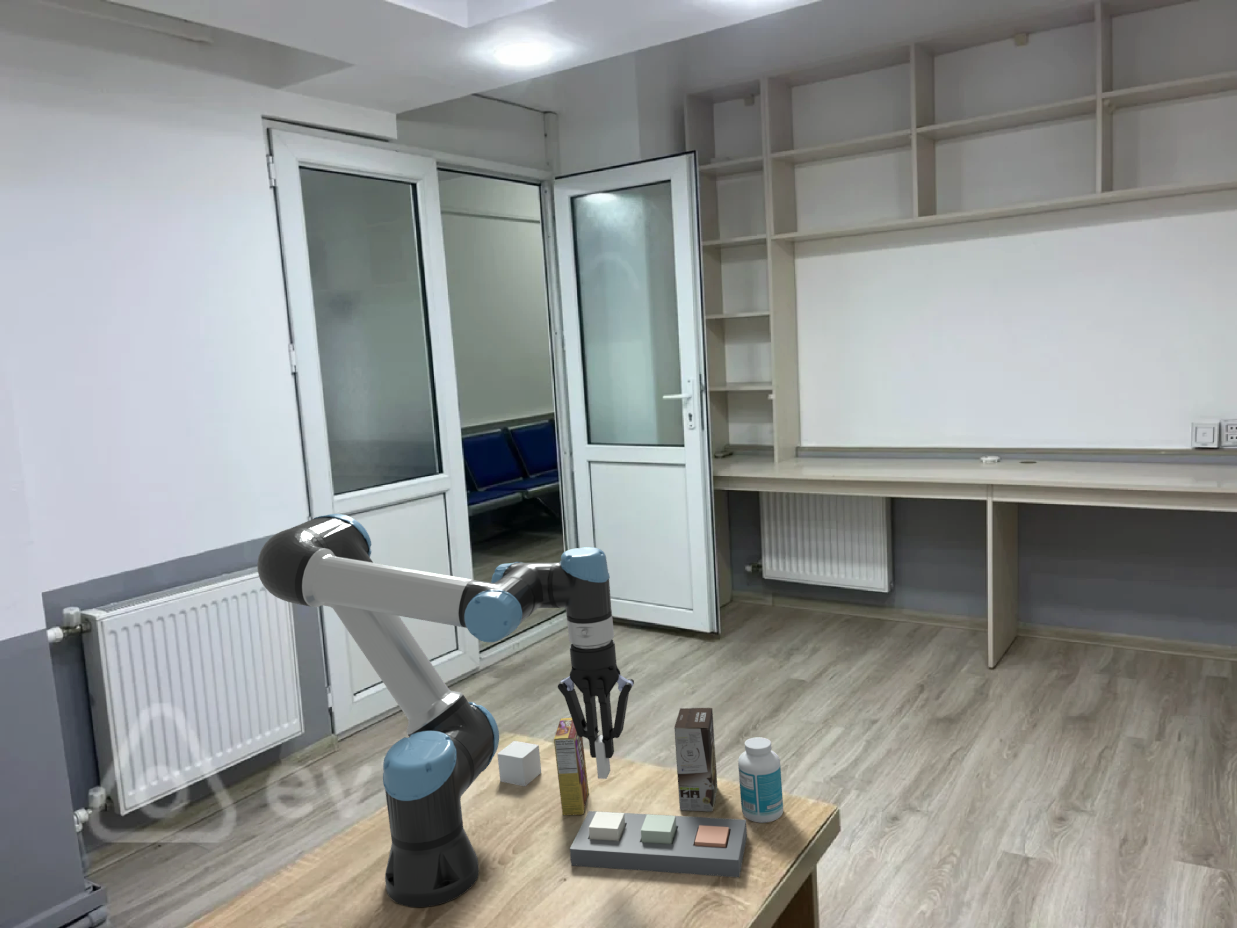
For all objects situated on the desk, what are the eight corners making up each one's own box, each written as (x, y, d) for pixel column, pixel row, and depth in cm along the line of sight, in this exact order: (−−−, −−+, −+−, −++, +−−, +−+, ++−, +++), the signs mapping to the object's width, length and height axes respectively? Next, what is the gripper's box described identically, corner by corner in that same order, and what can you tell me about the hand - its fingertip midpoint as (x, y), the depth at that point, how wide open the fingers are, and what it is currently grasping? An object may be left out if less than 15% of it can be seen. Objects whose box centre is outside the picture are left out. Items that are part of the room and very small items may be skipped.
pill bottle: (785, 804, 167) (781, 734, 165) (781, 826, 160) (777, 753, 158) (744, 801, 169) (740, 732, 167) (738, 822, 162) (734, 751, 160)
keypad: (571, 865, 153) (569, 848, 153) (590, 826, 165) (588, 810, 164) (739, 877, 146) (738, 859, 146) (746, 835, 158) (745, 819, 157)
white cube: (525, 786, 181) (522, 758, 180) (500, 781, 184) (497, 753, 183) (541, 772, 186) (538, 744, 185) (516, 767, 189) (514, 740, 188)
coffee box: (714, 812, 166) (708, 728, 164) (678, 810, 168) (672, 727, 165) (718, 786, 175) (713, 706, 173) (685, 785, 176) (679, 706, 174)
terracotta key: (696, 860, 151) (694, 841, 151) (700, 843, 156) (699, 825, 156) (726, 862, 150) (725, 843, 150) (729, 845, 155) (728, 826, 155)
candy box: (566, 791, 178) (560, 717, 175) (589, 791, 177) (582, 716, 175) (560, 816, 169) (553, 738, 167) (583, 815, 168) (576, 737, 166)
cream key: (590, 845, 156) (588, 827, 155) (597, 828, 160) (596, 811, 160) (618, 846, 154) (617, 828, 154) (625, 830, 159) (624, 813, 159)
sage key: (642, 848, 153) (640, 830, 153) (648, 832, 158) (646, 814, 158) (671, 850, 152) (670, 831, 152) (676, 833, 157) (675, 815, 157)
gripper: (547, 649, 150) (561, 784, 154) (624, 649, 147) (636, 787, 150) (560, 633, 157) (573, 762, 161) (635, 633, 154) (646, 765, 158)
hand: (604, 774), depth 156 cm, fingers closed
